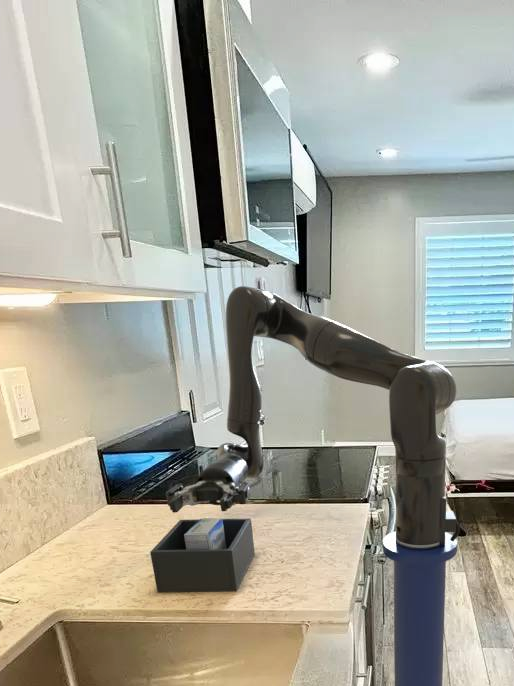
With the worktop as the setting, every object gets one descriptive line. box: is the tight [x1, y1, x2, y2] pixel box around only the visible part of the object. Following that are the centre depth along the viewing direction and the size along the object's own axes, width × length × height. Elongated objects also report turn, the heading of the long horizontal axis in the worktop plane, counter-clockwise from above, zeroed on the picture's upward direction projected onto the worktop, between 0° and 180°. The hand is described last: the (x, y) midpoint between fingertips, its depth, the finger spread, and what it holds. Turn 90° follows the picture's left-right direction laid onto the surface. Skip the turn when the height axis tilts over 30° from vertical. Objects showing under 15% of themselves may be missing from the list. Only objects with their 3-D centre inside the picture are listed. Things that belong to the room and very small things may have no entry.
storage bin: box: [149, 518, 256, 594], centre depth 103 cm, size 14×16×8 cm
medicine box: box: [184, 517, 226, 550], centre depth 102 cm, size 8×4×9 cm, turn 176°
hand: (198, 506), depth 98 cm, fingers open, 8 cm apart
